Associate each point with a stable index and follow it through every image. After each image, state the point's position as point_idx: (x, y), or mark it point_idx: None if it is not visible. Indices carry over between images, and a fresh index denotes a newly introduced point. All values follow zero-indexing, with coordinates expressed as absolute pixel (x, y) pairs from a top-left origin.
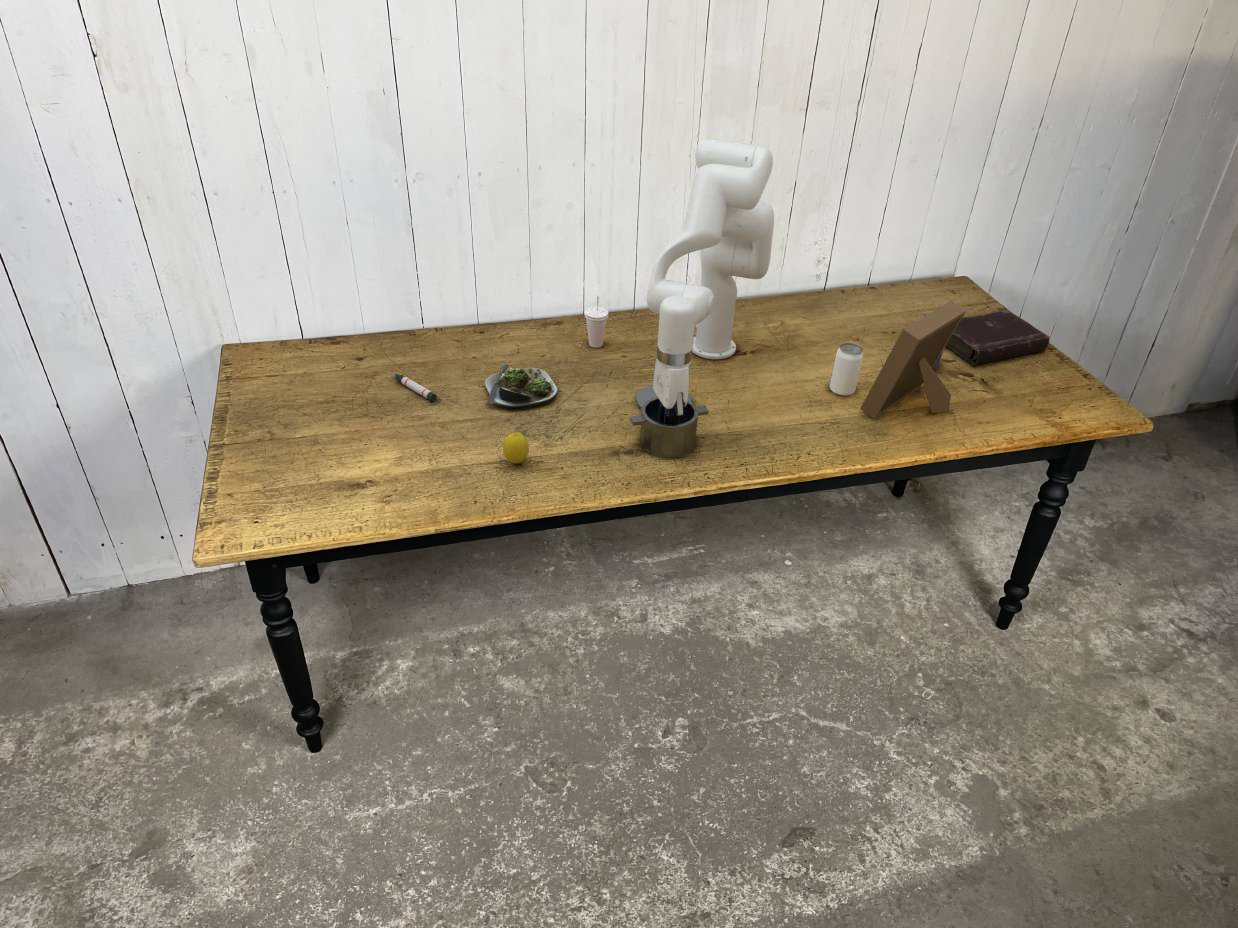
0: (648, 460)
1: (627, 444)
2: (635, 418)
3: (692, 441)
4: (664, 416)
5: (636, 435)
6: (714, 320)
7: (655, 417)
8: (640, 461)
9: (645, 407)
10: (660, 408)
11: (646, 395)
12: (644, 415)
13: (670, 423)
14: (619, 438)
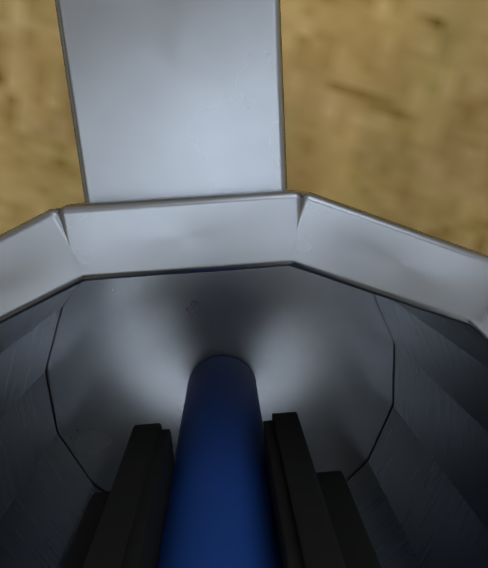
0: (17, 191)
1: None
2: (175, 24)
3: None
4: (229, 518)
5: (352, 187)
6: None
7: (437, 384)
8: (9, 124)
9: (442, 315)
10: (335, 555)
11: None
12: (150, 217)
13: (76, 544)
14: (347, 34)
